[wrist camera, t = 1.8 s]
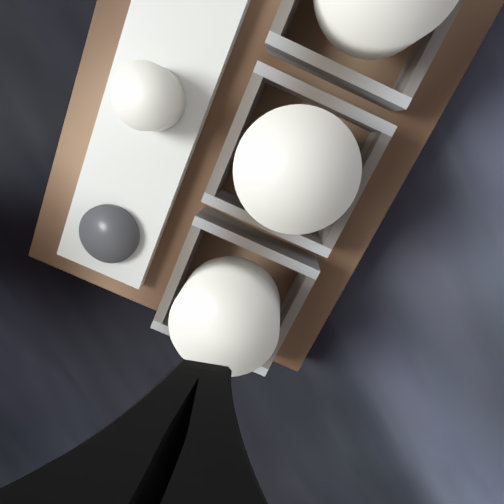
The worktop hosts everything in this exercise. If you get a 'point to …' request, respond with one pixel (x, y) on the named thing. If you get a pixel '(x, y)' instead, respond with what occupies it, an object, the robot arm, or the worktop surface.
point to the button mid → (297, 169)
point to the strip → (147, 131)
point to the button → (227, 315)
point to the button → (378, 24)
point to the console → (232, 130)
